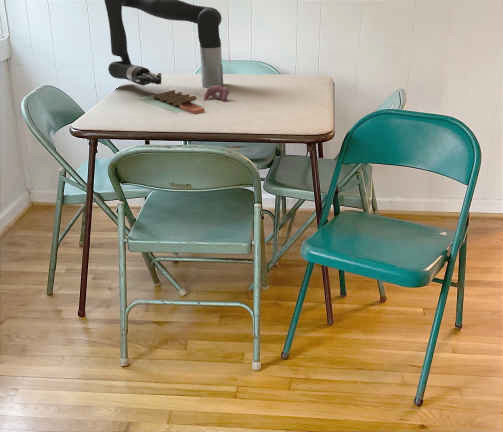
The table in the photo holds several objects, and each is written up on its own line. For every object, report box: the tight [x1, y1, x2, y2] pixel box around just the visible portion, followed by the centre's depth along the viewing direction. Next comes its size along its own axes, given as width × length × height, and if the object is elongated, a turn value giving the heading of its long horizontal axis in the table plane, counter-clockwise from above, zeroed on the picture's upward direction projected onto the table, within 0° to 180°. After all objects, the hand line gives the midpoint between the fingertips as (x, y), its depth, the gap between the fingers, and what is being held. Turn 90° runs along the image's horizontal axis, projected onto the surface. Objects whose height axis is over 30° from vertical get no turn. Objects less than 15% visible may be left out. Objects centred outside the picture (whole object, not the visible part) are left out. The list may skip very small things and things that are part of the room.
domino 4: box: [173, 95, 197, 106], centre depth 250 cm, size 2×5×10 cm
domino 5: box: [179, 101, 206, 115], centre depth 247 cm, size 2×5×10 cm
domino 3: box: [166, 93, 190, 104], centre depth 254 cm, size 2×5×10 cm
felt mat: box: [137, 94, 205, 114], centre depth 259 cm, size 30×14×1 cm, turn 39°
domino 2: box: [159, 92, 183, 101], centre depth 258 cm, size 2×5×10 cm
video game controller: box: [203, 85, 230, 102], centre depth 261 cm, size 10×5×7 cm, turn 66°
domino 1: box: [152, 89, 176, 99], centre depth 261 cm, size 2×5×10 cm
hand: (159, 81), depth 261 cm, fingers closed
